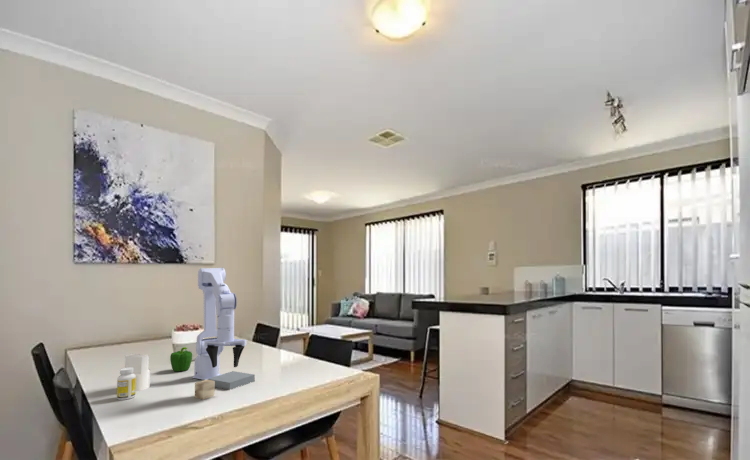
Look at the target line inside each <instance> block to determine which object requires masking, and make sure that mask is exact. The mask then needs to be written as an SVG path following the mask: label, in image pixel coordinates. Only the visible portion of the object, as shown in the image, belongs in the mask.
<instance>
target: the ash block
mask: <svg viewBox="0 0 750 460" xmlns="http://www.w3.org/2000/svg"><path fill="white" fill-rule="evenodd" d="M215 389H216V387H215V381H212V380H207V379H206V380H199V381H196V382H194V398H195V399H200V400H207V399H208V398H212V397H215V396H214V395H216V393H215Z"/></svg>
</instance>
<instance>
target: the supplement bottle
mask: <svg viewBox="0 0 750 460" xmlns="http://www.w3.org/2000/svg"><path fill="white" fill-rule="evenodd" d="M133 371H134V368H133V367H129V368H125V367H123V368H120V370H119V374H120V375H119V376H118V377H117V381H116V382H117V383H116V385H117V387H116V389H117V390H116V399H117V400H119V401H125V400H130V399H133V398H135V397H136V392H135V384H136V376H135V374H133Z"/></svg>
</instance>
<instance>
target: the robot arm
mask: <svg viewBox="0 0 750 460" xmlns="http://www.w3.org/2000/svg"><path fill="white" fill-rule="evenodd" d="M226 277H227V274H226V269H225V268H224V267H211V268H210V267H209V268H207V267H200V268H199V269H198V273H197V287H198V290H199V289H200V290H202V292H203V293H202V294H203V331H201V332H200V333H199V334H197V336H196V342H195V352H196V354H197V356H196V358H195V359H194V375H193V376H192V378H193V379H196V380H201V381H203V380H206V379H207V380H208V379H209V378H212V377H215V376H219V375H222V374H223V373H220V355H221V354H222V353H223V352H224V348H225V347H230V346H231V347H232V354H233V368H237V367H238V366H239V361H240V358H241V355H242V353H243V351H244V349H245V347H246V346H247V342H248V341H247V339H238V338H237V339H236V338H235V310H236V309H237V303H238V299H237V295H236V293H235V292H231V290H230V287H229V285H227V283H225V281H226Z"/></svg>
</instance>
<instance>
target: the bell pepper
mask: <svg viewBox="0 0 750 460" xmlns="http://www.w3.org/2000/svg"><path fill="white" fill-rule="evenodd" d="M187 349H188V347H186V346H184V347H181V349H180V350H178V351H175V352H172V353H171V354H170V359H169V360H170V364H171V369H172V371H174V372H185V371H188V370H189V369H190V367H191V364H192V362H193V361H192V360H193V354H192V351H190V350H187Z"/></svg>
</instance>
